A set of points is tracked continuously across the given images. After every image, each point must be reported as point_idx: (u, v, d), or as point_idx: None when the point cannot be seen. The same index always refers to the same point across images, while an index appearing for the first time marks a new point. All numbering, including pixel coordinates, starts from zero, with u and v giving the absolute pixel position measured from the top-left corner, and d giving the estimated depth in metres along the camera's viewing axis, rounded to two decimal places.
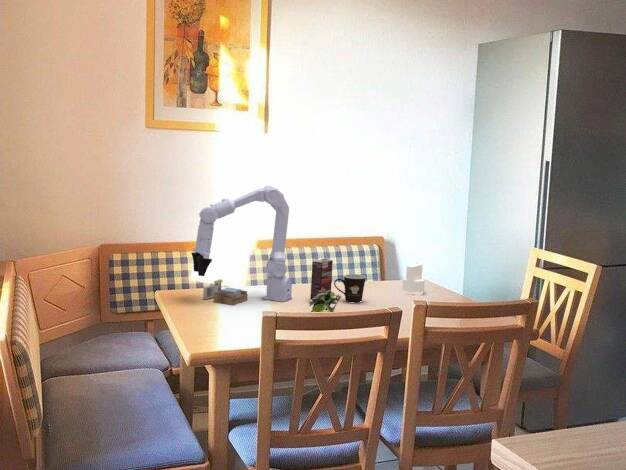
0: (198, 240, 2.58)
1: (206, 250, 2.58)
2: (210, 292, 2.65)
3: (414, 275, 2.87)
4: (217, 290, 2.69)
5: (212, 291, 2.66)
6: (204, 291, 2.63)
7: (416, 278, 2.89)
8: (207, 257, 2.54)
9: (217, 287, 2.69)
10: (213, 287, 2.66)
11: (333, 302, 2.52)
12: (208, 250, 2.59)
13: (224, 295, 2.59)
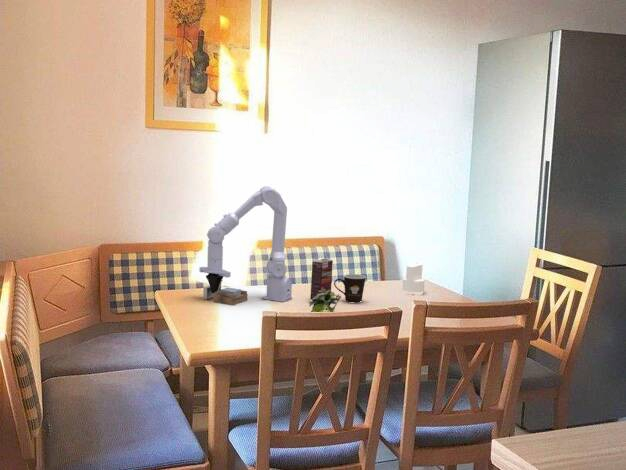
0: (212, 261, 2.60)
1: (221, 269, 2.62)
2: (210, 292, 2.65)
3: (414, 275, 2.87)
4: None
5: None
6: (204, 291, 2.63)
7: (416, 278, 2.89)
8: (229, 275, 2.60)
9: None
10: None
11: (333, 302, 2.52)
12: None
13: (224, 295, 2.59)
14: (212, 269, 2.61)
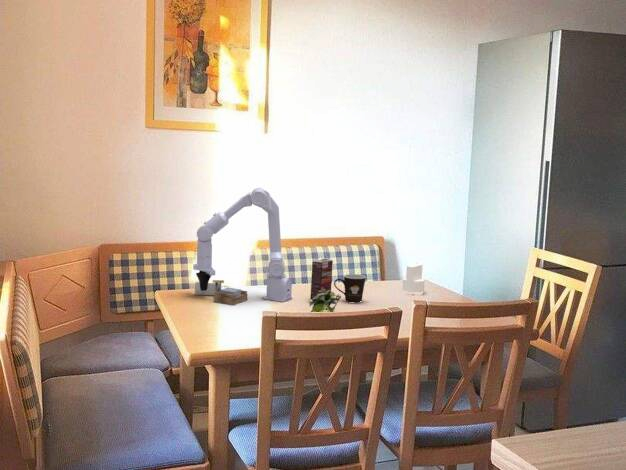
0: (200, 259, 2.64)
1: (209, 267, 2.65)
2: (200, 289, 2.70)
3: (414, 275, 2.87)
4: (213, 289, 2.70)
5: None
6: (195, 286, 2.70)
7: (416, 278, 2.89)
8: (213, 274, 2.62)
9: (213, 286, 2.70)
10: None
11: (333, 302, 2.52)
12: (210, 266, 2.66)
13: (224, 295, 2.59)
14: (199, 266, 2.65)
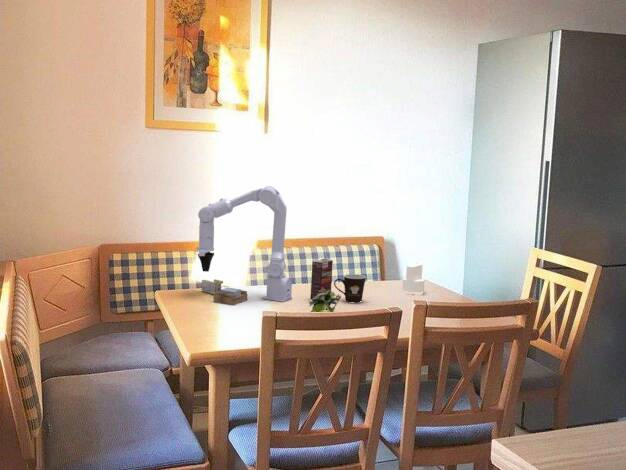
0: (199, 239, 2.68)
1: (206, 248, 2.67)
2: (205, 286, 2.75)
3: (414, 275, 2.87)
4: (213, 289, 2.71)
5: (207, 286, 2.74)
6: None
7: (416, 278, 2.89)
8: (202, 254, 2.62)
9: (213, 285, 2.71)
10: (209, 283, 2.73)
11: (333, 302, 2.52)
12: (209, 248, 2.67)
13: (224, 295, 2.59)
14: (199, 246, 2.68)
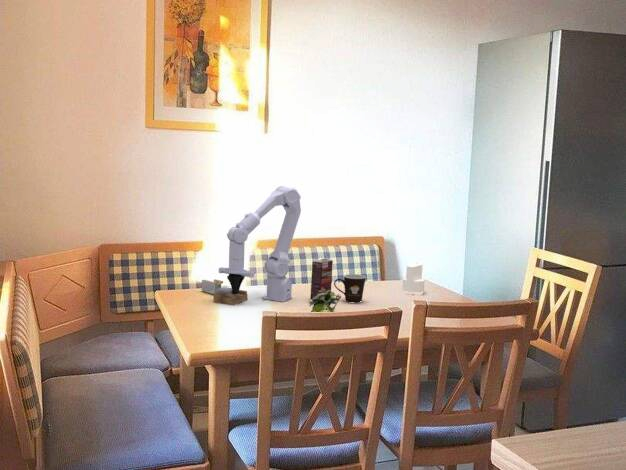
0: (235, 261, 2.57)
1: (243, 269, 2.60)
2: (205, 286, 2.75)
3: (414, 275, 2.87)
4: (213, 289, 2.71)
5: (207, 286, 2.74)
6: None
7: (416, 278, 2.89)
8: (253, 275, 2.58)
9: (213, 285, 2.71)
10: (209, 283, 2.73)
11: (333, 302, 2.52)
12: (243, 268, 2.61)
13: (224, 295, 2.59)
14: (235, 269, 2.57)
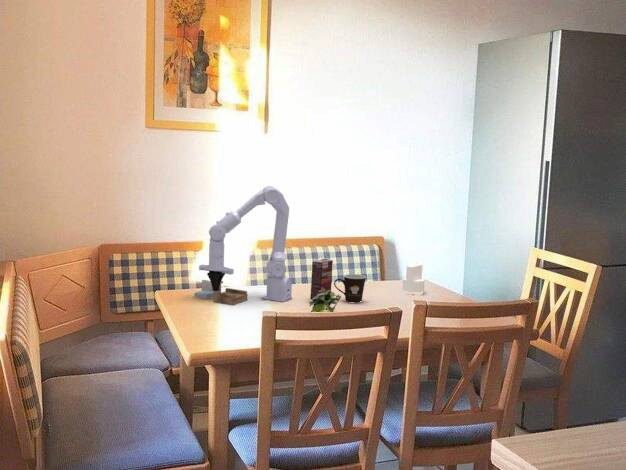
0: (215, 259, 2.61)
1: (223, 266, 2.64)
2: (205, 286, 2.75)
3: (414, 275, 2.87)
4: None
5: (207, 286, 2.74)
6: None
7: (416, 278, 2.89)
8: (232, 272, 2.62)
9: None
10: (209, 283, 2.73)
11: (333, 302, 2.52)
12: (223, 266, 2.65)
13: (224, 295, 2.59)
14: (215, 267, 2.61)
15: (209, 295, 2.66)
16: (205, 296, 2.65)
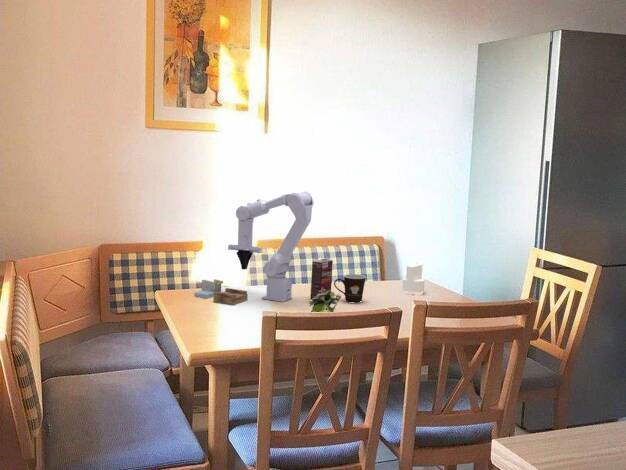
0: (244, 238, 2.71)
1: (251, 245, 2.74)
2: (205, 286, 2.75)
3: (414, 275, 2.87)
4: (213, 289, 2.71)
5: (207, 286, 2.74)
6: None
7: (416, 278, 2.89)
8: (261, 251, 2.72)
9: (213, 285, 2.71)
10: (209, 283, 2.73)
11: (333, 302, 2.52)
12: (251, 245, 2.75)
13: (224, 295, 2.59)
14: (244, 246, 2.72)
15: (209, 295, 2.66)
16: (205, 296, 2.65)
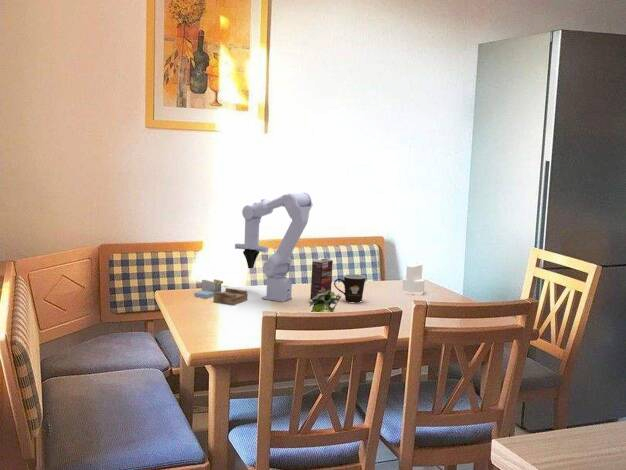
0: (251, 237, 2.74)
1: (258, 245, 2.77)
2: (205, 286, 2.75)
3: (414, 275, 2.87)
4: (213, 289, 2.71)
5: (207, 286, 2.74)
6: None
7: (416, 278, 2.89)
8: (267, 250, 2.75)
9: (213, 285, 2.71)
10: (209, 283, 2.73)
11: (333, 302, 2.52)
12: None
13: (224, 295, 2.59)
14: (250, 245, 2.74)
15: (209, 295, 2.66)
16: (205, 296, 2.65)
